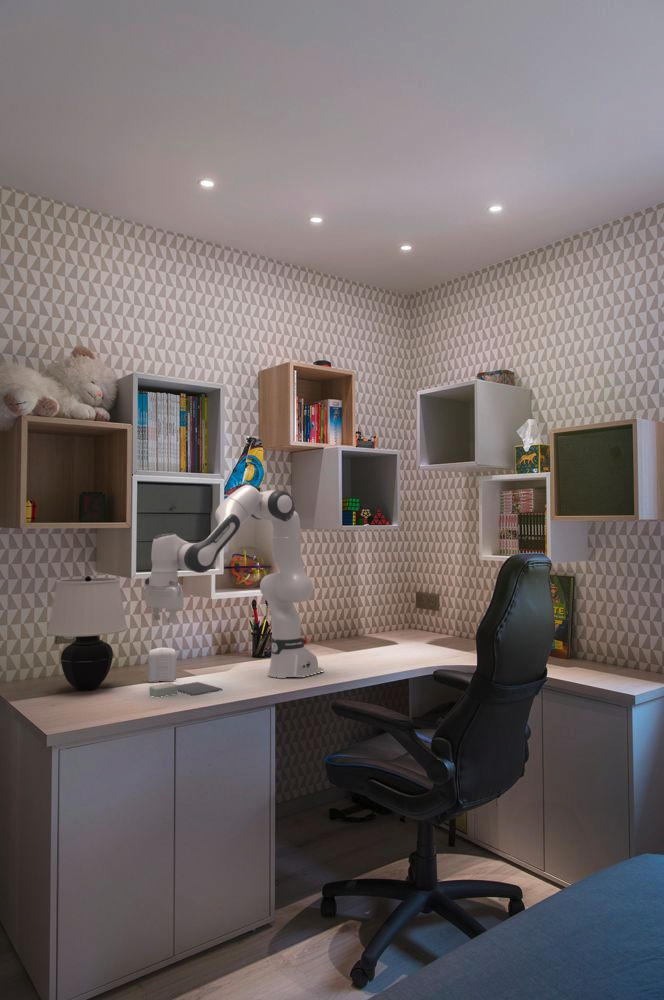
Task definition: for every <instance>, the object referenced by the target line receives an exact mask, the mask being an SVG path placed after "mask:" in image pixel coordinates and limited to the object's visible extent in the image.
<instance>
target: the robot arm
mask: <svg viewBox="0 0 664 1000" xmlns="http://www.w3.org/2000/svg"><path fill="white" fill-rule="evenodd" d="M293 499H294V498H293V497H292V494H290V493H289V492H287V491H285V490H282V489H276V490H274V489H273V490H266V491H259V490H258V489H257V488H256V487H254V486H253V485H250V484H246V485H242V486H240V487H239V488H237V489H236V490H235V491H233V492H232V493H231V494H229V495H228V496H227V497H226V498H225V499H224V500H223V501H222V502H221V503H220V504H219V506H218V507H216V509H215V515H214V516H215V520H216V522H217V524H218V525H217V526H216V528H215V529H214V530H212V532H211V533H210V534H209V536H208V537H207V538H206V539H204V540H202V541H200V542H196V543H195V542H194V543H193V542H189V541H186V540H184V539H182V538H181V537H179V536H178V535H177V534H176V533H173V532H169V533H161V534H158V535H156V536H155V537H154V538H153V541H152V543H151V544H152V546H151V556H150V557H151V564H152V565H151V566H152V567H151V571H150V573H151V574H150V575H149V576H148V577H147V578H145V579H144V581H143V582H144V583H143V585H145V588H144V602H145V605H146V607H151V612H152V615H153V621H161V614H160V613H159V612H160V611H159V610H160V609H165V610H168V613H169V615H168V616H167V623H169V624H173V623H175V617H176V615H177V611H180V610H183V608H184V603H185V602H184V592H183V588H182V586H181V585H180V583H179V581H178V570H182V571H186V572H187V571H189V572H195V573H199V574H200V573H205V572H208V571H209V570H210V569H212V567H213V566H214V564H215V563H216V560H217V558H218V555H219V554H220V552H221V551H222V550H223V548H224V547H225V546H227V544H228V543H229V542H230V540H231V539H232V538H233V537H234V536H235V535H236V533H237V532H238V530H239V529H240V527H242V525H244V524H245V523H246V521H247V520H249V518H250V517H252V518H253V519H256V520H259V521H260V520H261V521H262V520H266V521H269V520H270V522H271V524H272V547H271V548H272V551H271V552H272V559H273V560H274V562H276V565H277V567H278V569H279V572H273V573H269V574H266V575H265V576H264V577H262V578H261V581H260V583H259V590H260V593H261V595H262V596H263V597H264V598H265V600H266V603H267V606H268V609H269V611H270V612H269V613H270V617H271V634H272V635H271V638H270V649H271V650H270V651H271V656H270V663H269V664H270V665H269V670H268V673H267V676H268V677H272V678H276V677H277V679H287V678H286V677H303V676H307V675H311V674H314V673H318V672H321V671H323V670H324V671H325V669H324V668H322V667H319V661H318V658H317V656H316V655H315V654H314V653H312V652H311V651H310V650H309V649H308V648H306V647H305V644H309V642H310V639H309V638H307V637H303V638H302V636H301V633H302V632H301V626H302V625H301V617H300V614H299V613H298V612H297V611H296V609H295V607H294V603H295V604H297V603H304V602H306V601H308V600H309V599H310V598H311V597H312V595H313V593H314V584H313V581H312V579H311V578H309V576H308V575H307V573H306V571H305V568H304V564H303V559H302V530H301V528H302V527H301V521H300V516H299V514H298V512H297V511H295V504H294V500H293Z"/></svg>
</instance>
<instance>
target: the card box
mask: <svg viewBox="0 0 664 1000" xmlns="http://www.w3.org/2000/svg"><path fill="white" fill-rule="evenodd" d="M177 685H178V684H177V683H173V682H166V683H161V684H156V685H150V686H149V690H148V691H149V695H150V696H149V697H151V696H154V697H160V698H162V697H161V696H166V695H171V696H173V695H172V694H176V695H178V691H177ZM154 697H153V698H154ZM166 697H167V696H166Z"/></svg>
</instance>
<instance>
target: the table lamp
mask: <svg viewBox="0 0 664 1000" xmlns="http://www.w3.org/2000/svg"><path fill="white" fill-rule="evenodd" d="M50 613H51V614H50V618H49V622H48V623H49V624H48V628H47V630H46V633H47V635H49V636H55V637H68V638H69V637H76V638H75V640H74V641H72V642H71V643H70V644H68V646H65V647H64V649H63V650H62V652H61V654H60V655H61V656H60V662H61V669H62V672H63V675H64V678H65V680H66V681H67V682H68V683H69V684H70V685H71V686H72V687H73V688H75V689H76V690H78V691H85V692H86V691H92V690H93V691H94V690H95V689H97V688H98V687H99V686H100V685H101V684H102V683H103V682H104V681H105V679H106V678H107V676H109V675H108V674H109V672H110V670H111V666H112V663H113V659H114V658H113V657H114V651H113V649H112V648H113V647H112V646H111V645H110V644H109V643H107V642H105V641H104V640H102V639H100V636H105V635H114V634H119V633H122V632H126V631H127V630H128V626H127V620H126V615H125V609H124V604H123V599H122V592H121V587H120V578H114V577H92V576H91V575H87V576H85V577H83V578H82V577H81V578H77V577H76V578H64V579H58V580H56V587H55V591H54V597H53V602H52V607H51V612H50Z"/></svg>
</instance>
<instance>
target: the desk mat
mask: <svg viewBox="0 0 664 1000" xmlns="http://www.w3.org/2000/svg"><path fill="white" fill-rule="evenodd" d="M177 690H178V691H177V692H179V691H180V693H182V692H183V694H185V693H187V694H186V695H188V694H190V695H189V696H192V695H194V696H198V694H199V695H204V693H205V694H209V693H208V692H210V693H214V691H215V692H220V691H219V690H221V691H223V688H220V687H217V686H215V685H210V684H206V683H204V682H199V681H194V682H190V683H189V682H188V683H182V684H177Z"/></svg>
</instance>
